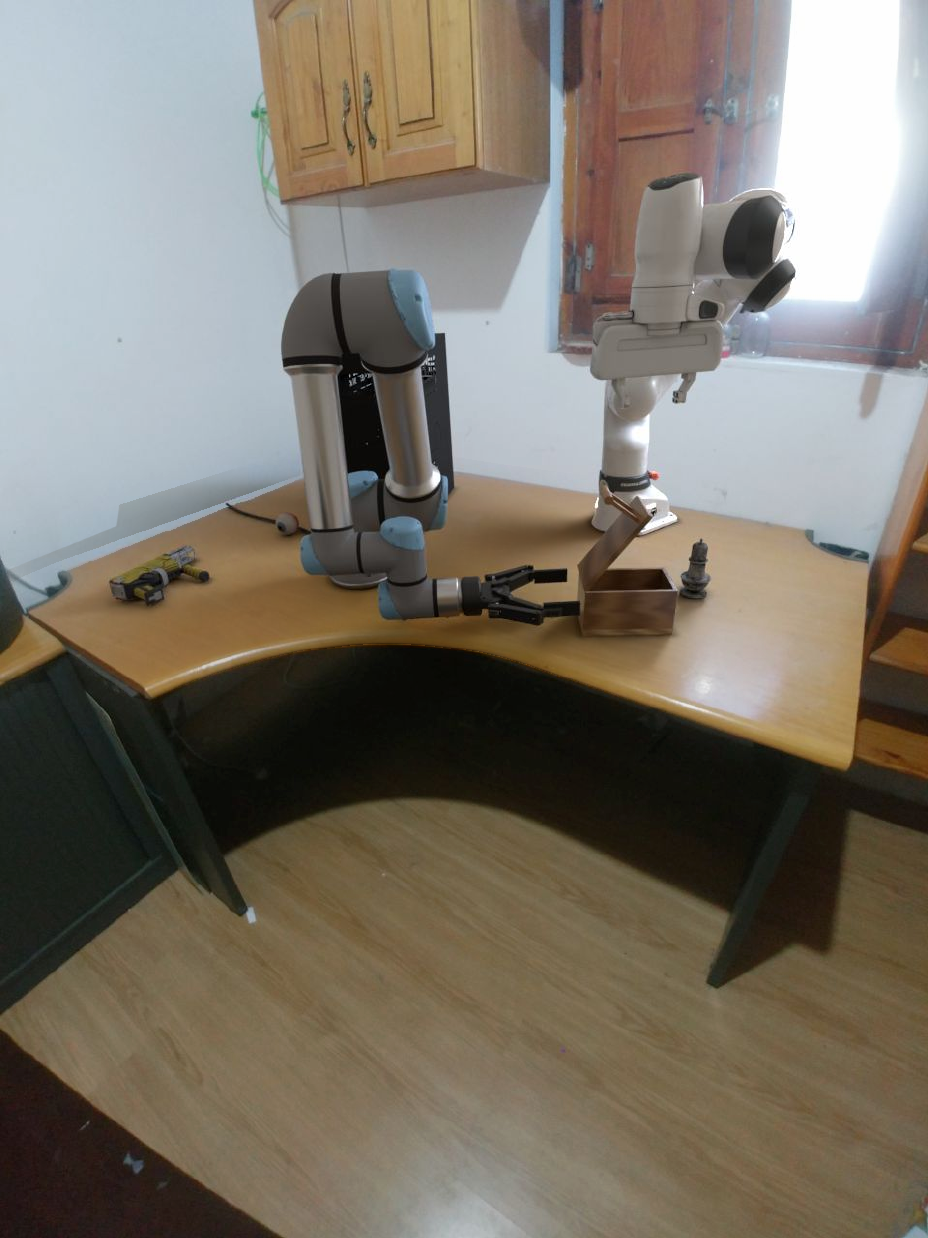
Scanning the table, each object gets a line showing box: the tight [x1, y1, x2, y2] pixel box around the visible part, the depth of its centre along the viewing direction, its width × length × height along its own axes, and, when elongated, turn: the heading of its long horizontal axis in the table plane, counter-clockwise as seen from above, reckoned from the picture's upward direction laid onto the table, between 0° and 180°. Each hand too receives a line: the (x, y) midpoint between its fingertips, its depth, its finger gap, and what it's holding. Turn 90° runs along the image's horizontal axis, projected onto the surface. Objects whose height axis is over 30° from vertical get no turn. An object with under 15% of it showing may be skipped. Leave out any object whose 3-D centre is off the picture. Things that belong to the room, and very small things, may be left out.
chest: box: [576, 566, 679, 637], centre depth 114 cm, size 16×10×9 cm, turn 87°
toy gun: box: [108, 544, 210, 607], centre depth 141 cm, size 5×24×15 cm
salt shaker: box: [679, 537, 712, 599], centre depth 122 cm, size 6×6×12 cm
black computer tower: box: [337, 332, 455, 496], centre depth 168 cm, size 38×20×45 cm, turn 167°
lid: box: [576, 485, 653, 591], centre depth 107 cm, size 17×10×8 cm
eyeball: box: [275, 511, 300, 536], centre depth 163 cm, size 6×6×6 cm
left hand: (573, 590), depth 114 cm, fingers open, 13 cm apart
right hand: (651, 405), depth 96 cm, fingers open, 8 cm apart
